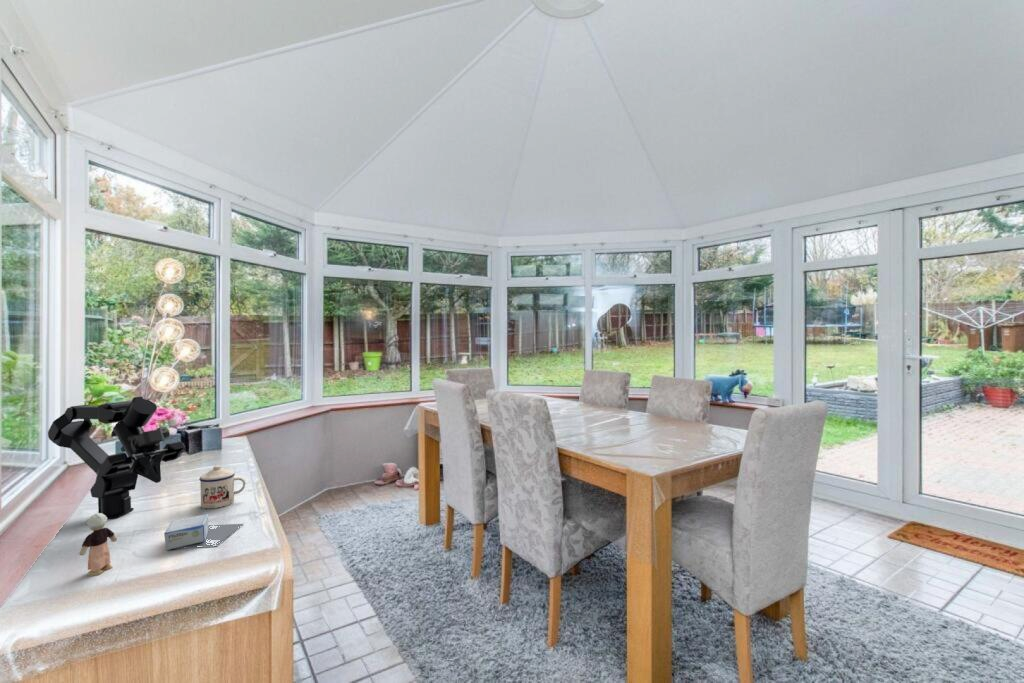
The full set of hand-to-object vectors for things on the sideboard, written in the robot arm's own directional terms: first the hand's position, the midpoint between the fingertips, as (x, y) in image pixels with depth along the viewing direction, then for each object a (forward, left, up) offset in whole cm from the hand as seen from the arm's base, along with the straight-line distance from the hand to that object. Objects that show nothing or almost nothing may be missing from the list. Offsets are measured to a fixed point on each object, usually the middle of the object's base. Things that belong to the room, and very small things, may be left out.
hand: (158, 481), depth 126 cm
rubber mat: (+19, -9, -12) cm, 24 cm away
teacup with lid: (+9, +15, -12) cm, 21 cm away
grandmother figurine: (+4, -26, -12) cm, 29 cm away
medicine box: (+13, -8, -9) cm, 17 cm away
